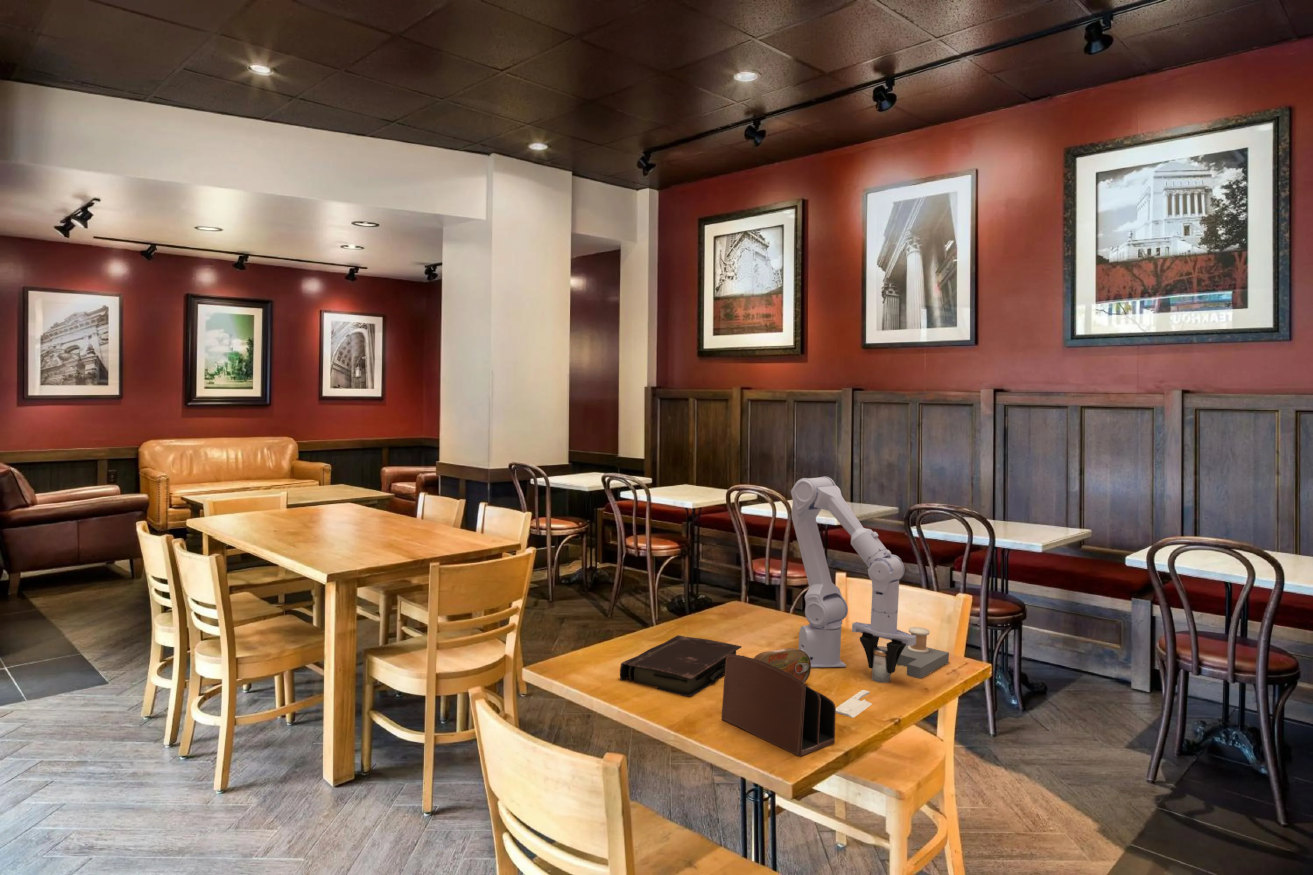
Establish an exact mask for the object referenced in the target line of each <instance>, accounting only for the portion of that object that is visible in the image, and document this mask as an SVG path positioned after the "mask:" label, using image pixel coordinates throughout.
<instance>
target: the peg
mask: <svg viewBox="0 0 1313 875" xmlns="http://www.w3.org/2000/svg"><path fill="white" fill-rule="evenodd" d="M871 670H872V672H871V680H872V681H874V682H877V683H883V684H885V683H890V682H891V675H892V673H891V674H890V673H888V651H887V646H882V645H877V646H876V647H874V648H873V667H872V668H871Z"/></svg>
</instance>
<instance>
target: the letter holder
mask: <svg viewBox="0 0 1313 875" xmlns="http://www.w3.org/2000/svg"><path fill="white" fill-rule="evenodd" d="M753 658H754V657H748V656H744V655H739V654H736V655H735V654H729V655H727V657H726V665H725V674H724V675H725V676H723V677H724V679H723V691H722V705H721V706H722V708H721V720H722V721H724V722H725V723H728V724H730V725H732V726H735V727H736V728H738V729H741V730H742V731H745V732H747V733H749V734H751V735H753V736H755V737H757V738H760V739H762V740H763V741H766V742H767V743H769V744H772V745H773V746H777V747H778V748H780V749H782V750H784V751H787V752H789V753H791V754H793V755H795V756H797V757H799V758H800V757H803V756H806V755H807V754H810V753H813V752H816V751H818V750H820V749H823V748H826V747H828V746H831V745H833V744H835V741H836V740H835V739H836V715H837V713H836V708H837V706H836V704H835V702H834V701H833V700H832V699H830V698H829V697H827V696H826V695H824V694H823V693H820V692H819V691H817V690H815V689H813V688H811V687H809V686H807V685H806V684H805V683H803V682H802V681H801V680H800V679H798V678H796V677H794V676H793V675H791V674H789V673H787V672H785V671H783V670H781V669H779V668H777V667H775V666H772V665H770V664H768V663H765V662H763V661H760V660H757V659H753Z"/></svg>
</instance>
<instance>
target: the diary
mask: <svg viewBox="0 0 1313 875" xmlns="http://www.w3.org/2000/svg"><path fill="white" fill-rule="evenodd" d="M742 647H743V646H742V645H738V644H732V643H728V642H723V641H718V640H713V639H707V638H700V637H698V638H697V637H691V636H685V635H679V634H678V635H676V636H674V637H672V638H670V639H668V640H667V641H665V642H663V643H662V642H661V644H660V643H659V644H658V645H656V646H654V647H651V648H649V649H647V650H645V651H644V652H642V653H640V654H639V655H636V656H634V657H632V658H630V659H627V660H625V661H623V662H621V663H620V667H619V678H620V681H622V682H623V681H625V680H626V679H628V678H629V683H630V682H632V681H634V682H635V683H639V684H640V685H641V684H642V685H645V686H646V685H647V686H649V687H653V688H656V690H659V691H663V692H666V693H671V694H675V695H679V696H683V697H693V696H695V695H697V694H698V693H700V692H701V691H703V690H705V689H707V688H708V687H710V686H711V685H712V684H714V683H715V682H716V681H718V680H720V679H722V678H723V677H725V665H726V657H727V655H729V654H735V655H737V651H738V650H740V649H742Z"/></svg>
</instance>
